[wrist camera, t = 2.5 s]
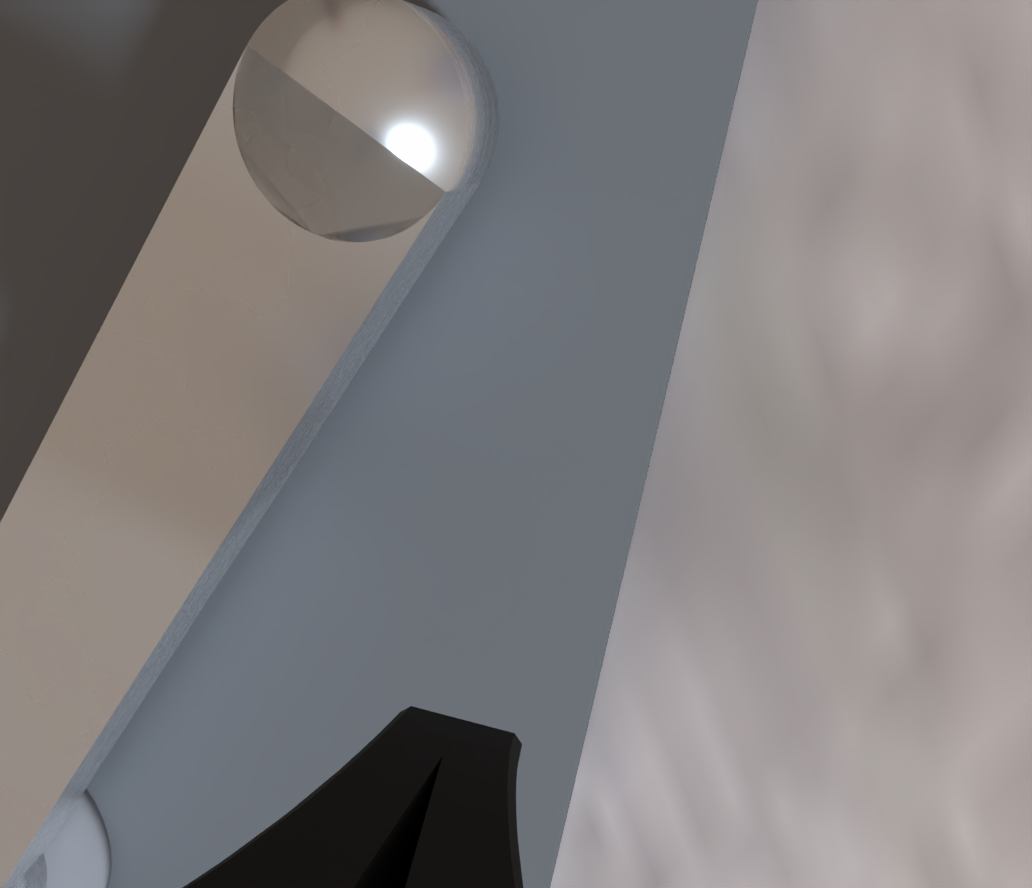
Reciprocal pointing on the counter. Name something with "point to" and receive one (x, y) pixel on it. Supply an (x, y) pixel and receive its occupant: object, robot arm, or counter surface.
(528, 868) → the mat
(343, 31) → the swing link
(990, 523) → the counter surface
